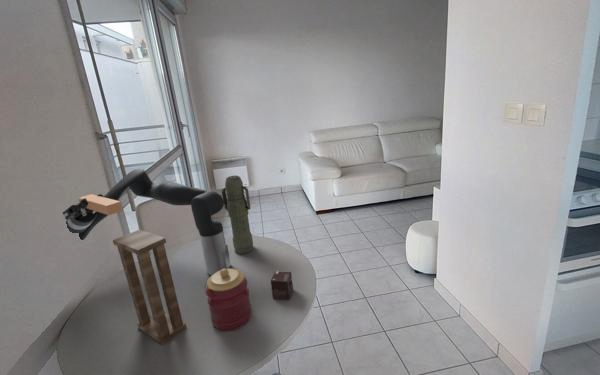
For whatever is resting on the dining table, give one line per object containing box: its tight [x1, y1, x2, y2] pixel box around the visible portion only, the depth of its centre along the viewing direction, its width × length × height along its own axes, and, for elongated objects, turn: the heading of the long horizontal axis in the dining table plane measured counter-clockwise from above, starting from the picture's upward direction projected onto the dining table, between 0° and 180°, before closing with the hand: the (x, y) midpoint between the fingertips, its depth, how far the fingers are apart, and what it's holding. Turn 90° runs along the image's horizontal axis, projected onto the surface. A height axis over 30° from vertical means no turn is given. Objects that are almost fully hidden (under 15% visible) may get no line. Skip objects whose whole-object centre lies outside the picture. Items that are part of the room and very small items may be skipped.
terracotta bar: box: [77, 193, 124, 216], centre depth 98 cm, size 20×4×3 cm, turn 55°
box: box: [270, 271, 294, 300], centre depth 108 cm, size 6×6×7 cm
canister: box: [204, 268, 253, 332], centre depth 97 cm, size 13×13×18 cm
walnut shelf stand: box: [112, 228, 187, 345], centre depth 94 cm, size 14×8×31 cm, turn 55°
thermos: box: [221, 175, 254, 255], centre depth 139 cm, size 9×12×35 cm
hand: (93, 198), depth 100 cm, fingers closed on terracotta bar, 4 cm apart
